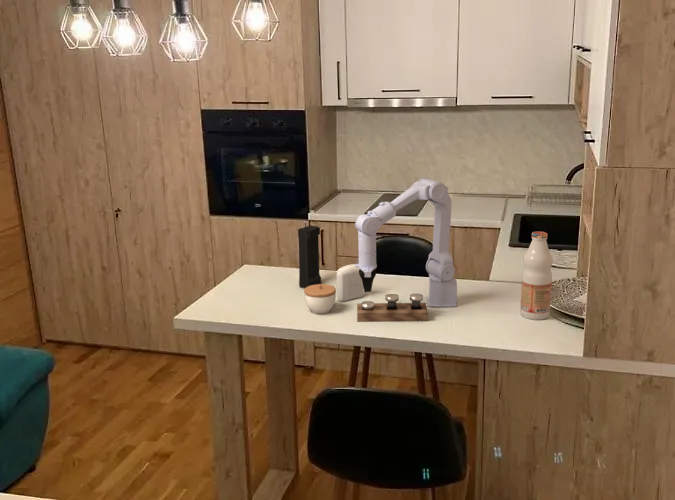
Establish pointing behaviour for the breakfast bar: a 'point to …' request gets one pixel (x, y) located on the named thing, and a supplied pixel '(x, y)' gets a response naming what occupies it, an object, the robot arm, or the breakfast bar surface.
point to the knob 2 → (416, 301)
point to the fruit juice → (537, 279)
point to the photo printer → (349, 283)
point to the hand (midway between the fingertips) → (367, 291)
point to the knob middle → (391, 300)
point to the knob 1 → (367, 305)
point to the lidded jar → (320, 298)
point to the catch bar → (392, 313)
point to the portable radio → (309, 256)
